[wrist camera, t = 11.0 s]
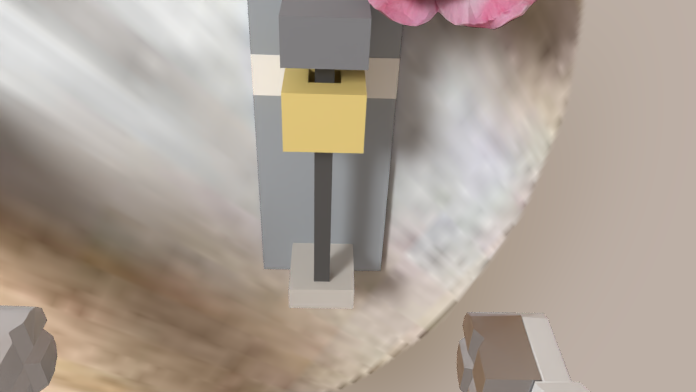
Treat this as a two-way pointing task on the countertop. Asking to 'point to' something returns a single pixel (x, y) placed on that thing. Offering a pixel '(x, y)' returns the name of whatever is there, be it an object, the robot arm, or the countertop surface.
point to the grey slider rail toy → (316, 167)
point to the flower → (454, 11)
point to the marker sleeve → (323, 112)
